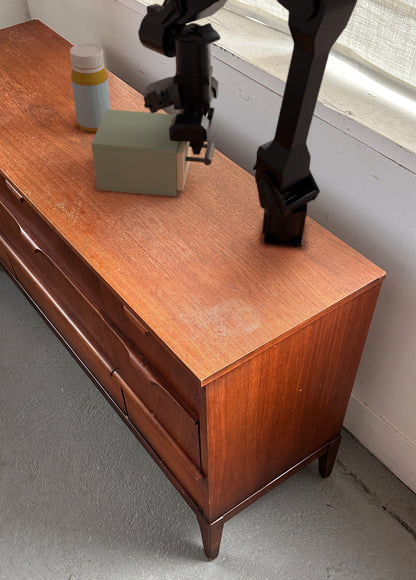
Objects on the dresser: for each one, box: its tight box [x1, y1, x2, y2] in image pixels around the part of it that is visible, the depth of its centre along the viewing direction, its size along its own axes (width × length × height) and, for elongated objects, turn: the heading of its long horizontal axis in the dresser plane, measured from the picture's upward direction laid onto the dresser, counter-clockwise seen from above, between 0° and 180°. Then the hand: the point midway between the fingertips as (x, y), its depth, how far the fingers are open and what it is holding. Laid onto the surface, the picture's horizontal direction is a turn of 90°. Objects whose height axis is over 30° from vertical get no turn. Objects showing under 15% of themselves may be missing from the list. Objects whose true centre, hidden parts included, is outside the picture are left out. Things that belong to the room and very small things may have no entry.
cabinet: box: [91, 109, 179, 197], centre depth 115 cm, size 15×13×9 cm
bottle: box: [69, 43, 112, 134], centre depth 124 cm, size 7×7×15 cm
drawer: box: [176, 141, 216, 192], centre depth 114 cm, size 18×11×7 cm, turn 84°
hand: (196, 153), depth 114 cm, fingers closed, pressing on drawer
